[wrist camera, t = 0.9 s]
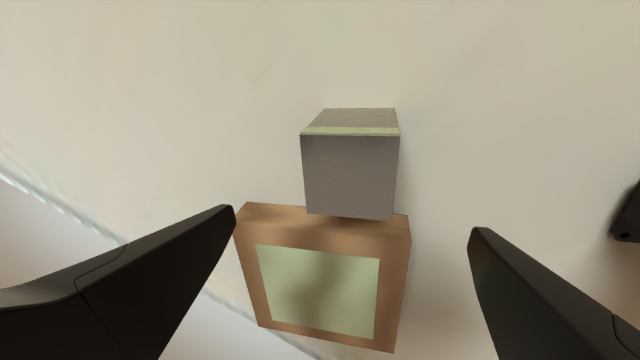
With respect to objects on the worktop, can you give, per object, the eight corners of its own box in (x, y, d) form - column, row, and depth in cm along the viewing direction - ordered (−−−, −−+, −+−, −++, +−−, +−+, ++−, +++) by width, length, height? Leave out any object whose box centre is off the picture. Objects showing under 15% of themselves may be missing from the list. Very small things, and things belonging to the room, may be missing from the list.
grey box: (394, 107, 16) (400, 135, 11) (389, 172, 18) (391, 221, 13) (324, 108, 17) (299, 134, 12) (327, 168, 19) (306, 213, 14)
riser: (407, 215, 19) (411, 243, 16) (392, 323, 26) (393, 356, 23) (246, 201, 22) (227, 223, 19) (269, 301, 29) (257, 328, 26)
